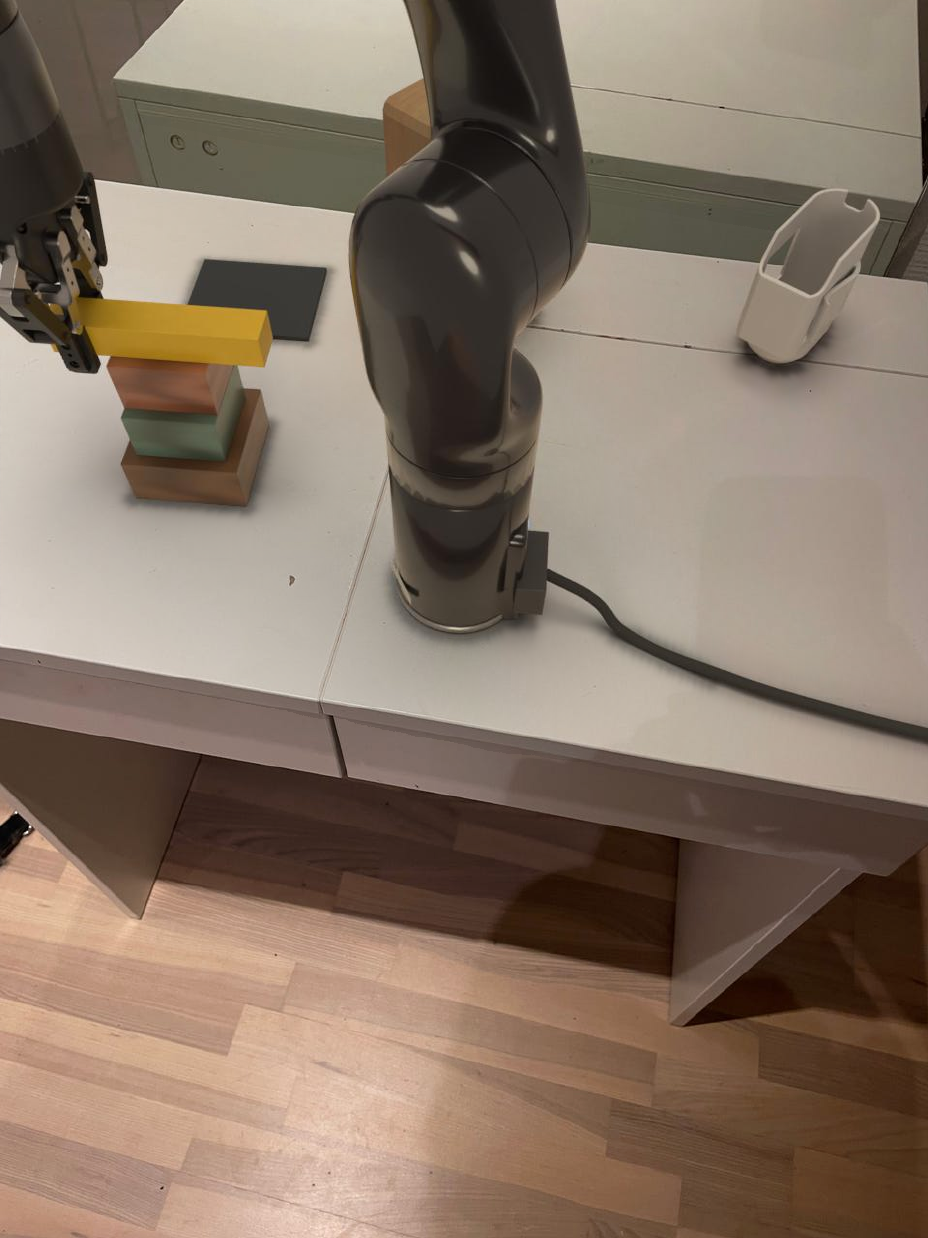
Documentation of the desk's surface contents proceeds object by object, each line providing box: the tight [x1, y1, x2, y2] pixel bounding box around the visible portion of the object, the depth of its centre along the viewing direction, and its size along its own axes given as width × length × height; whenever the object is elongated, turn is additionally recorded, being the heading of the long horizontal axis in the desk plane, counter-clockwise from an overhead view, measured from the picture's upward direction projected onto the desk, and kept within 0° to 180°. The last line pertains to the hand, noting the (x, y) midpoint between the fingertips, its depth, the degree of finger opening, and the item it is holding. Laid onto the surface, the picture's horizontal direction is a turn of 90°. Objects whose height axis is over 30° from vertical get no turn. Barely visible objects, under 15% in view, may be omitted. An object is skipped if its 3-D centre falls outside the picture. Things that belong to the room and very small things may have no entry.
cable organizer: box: [735, 188, 881, 364], centre depth 76 cm, size 7×12×12 cm, turn 141°
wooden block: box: [382, 77, 431, 178], centre depth 73 cm, size 10×10×20 cm
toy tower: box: [105, 356, 270, 507], centre depth 67 cm, size 9×9×12 cm
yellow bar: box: [49, 297, 274, 368], centre depth 61 cm, size 15×3×2 cm, turn 85°
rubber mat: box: [186, 258, 328, 342], centre depth 82 cm, size 12×10×1 cm
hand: (93, 351), depth 63 cm, fingers closed on yellow bar, 3 cm apart
